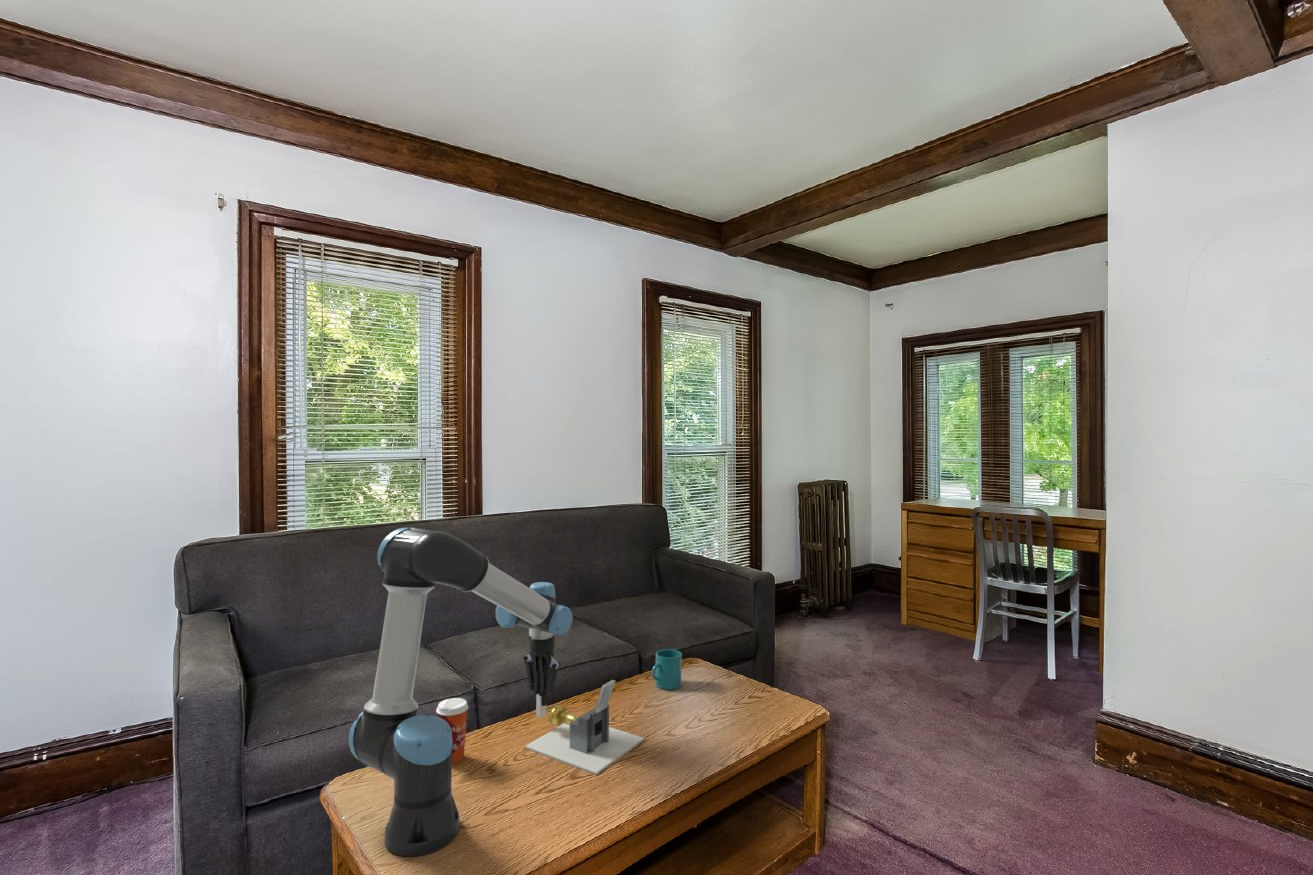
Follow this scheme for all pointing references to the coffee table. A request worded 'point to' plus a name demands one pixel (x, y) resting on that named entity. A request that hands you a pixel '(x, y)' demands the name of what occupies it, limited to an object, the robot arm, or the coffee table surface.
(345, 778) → the coffee table surface
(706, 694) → the coffee table surface
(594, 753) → the mat
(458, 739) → the coffee cup
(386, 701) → the robot arm
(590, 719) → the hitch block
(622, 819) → the coffee table surface
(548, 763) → the coffee table surface
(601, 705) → the grey flat brushed plate
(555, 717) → the pin
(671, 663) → the cup
